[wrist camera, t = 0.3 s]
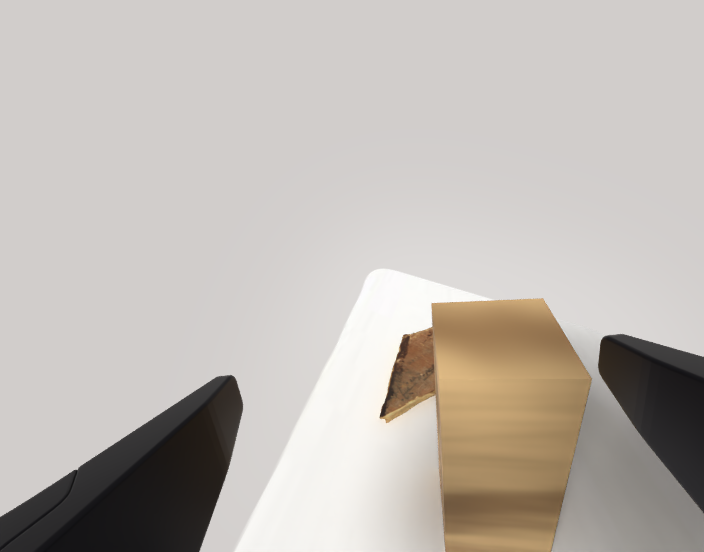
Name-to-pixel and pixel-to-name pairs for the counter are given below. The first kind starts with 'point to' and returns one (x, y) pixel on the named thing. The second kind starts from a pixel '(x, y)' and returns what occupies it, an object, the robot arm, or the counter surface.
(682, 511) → the counter surface
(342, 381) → the counter surface
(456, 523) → the wood block
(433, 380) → the shard
